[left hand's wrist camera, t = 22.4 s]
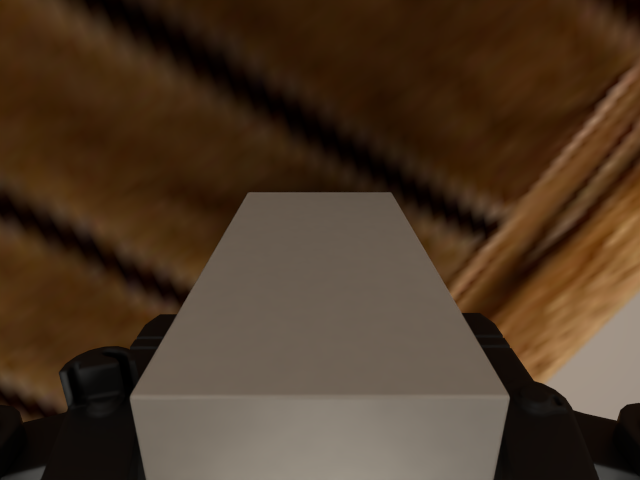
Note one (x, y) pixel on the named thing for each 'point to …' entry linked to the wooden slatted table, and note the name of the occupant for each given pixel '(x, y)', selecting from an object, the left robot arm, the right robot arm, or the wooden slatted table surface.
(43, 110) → the wooden slatted table surface
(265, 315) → the block
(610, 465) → the left robot arm
